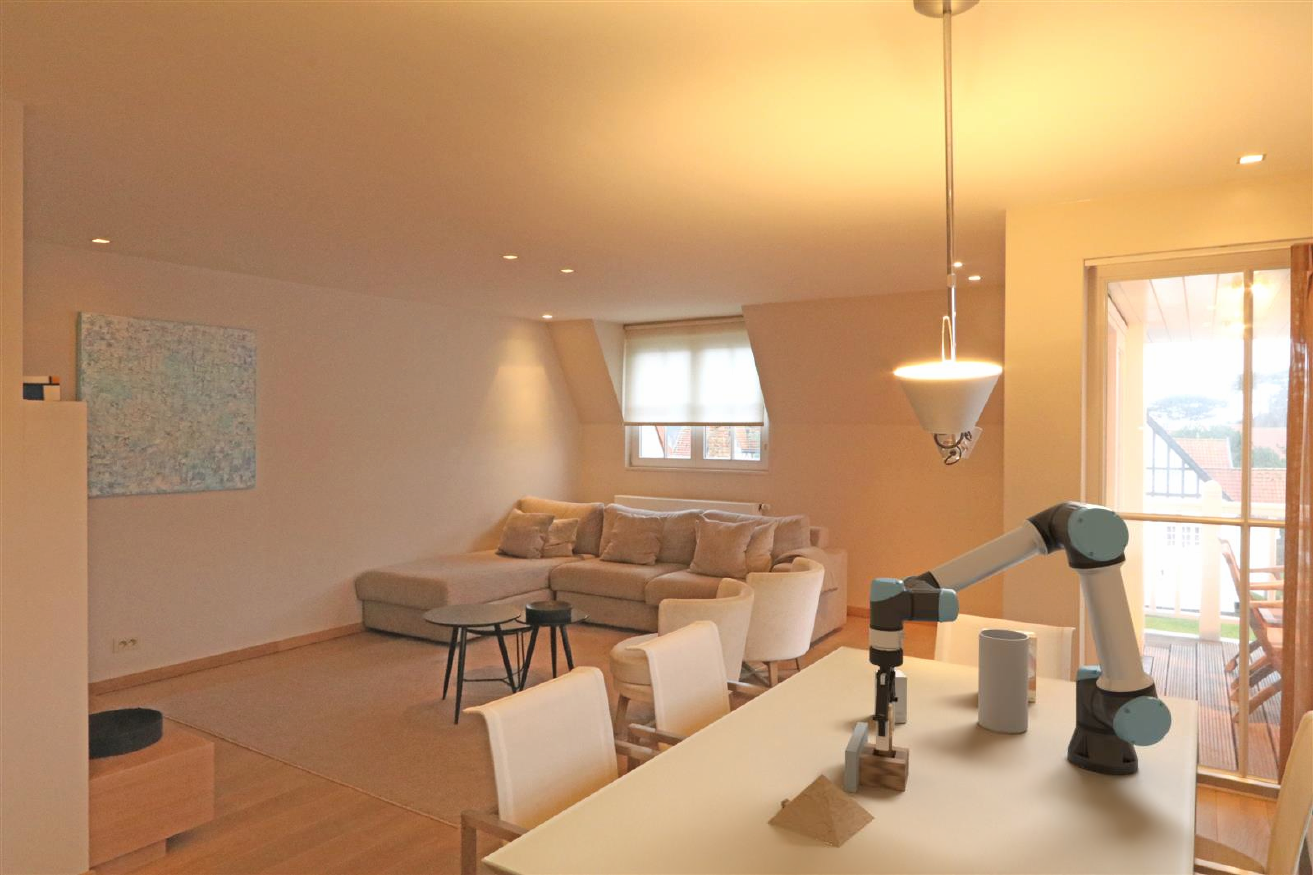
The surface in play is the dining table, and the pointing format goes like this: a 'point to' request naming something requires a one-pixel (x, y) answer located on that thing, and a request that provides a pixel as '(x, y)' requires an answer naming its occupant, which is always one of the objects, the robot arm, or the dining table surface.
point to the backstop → (854, 756)
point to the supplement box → (900, 693)
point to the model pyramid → (823, 813)
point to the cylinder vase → (1003, 680)
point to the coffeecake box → (1031, 665)
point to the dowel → (889, 752)
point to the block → (884, 768)
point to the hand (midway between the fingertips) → (885, 739)
